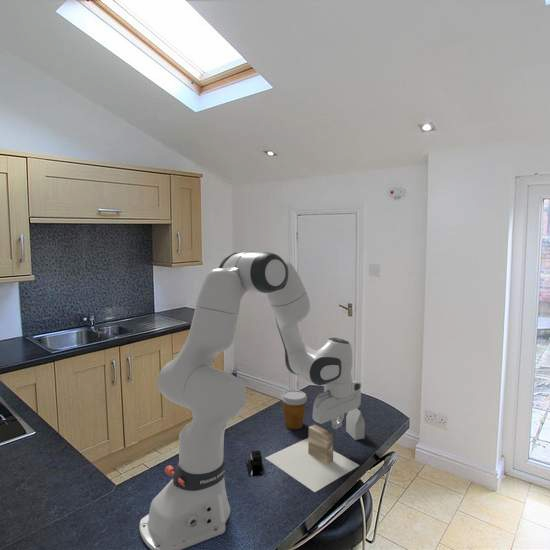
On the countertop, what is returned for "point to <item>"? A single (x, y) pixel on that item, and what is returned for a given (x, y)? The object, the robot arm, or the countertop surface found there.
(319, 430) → the letter block
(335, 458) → the felt mat
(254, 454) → the black mounting plate
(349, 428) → the grey angular block
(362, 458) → the countertop surface
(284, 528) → the countertop surface
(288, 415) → the disposable coffee cup
